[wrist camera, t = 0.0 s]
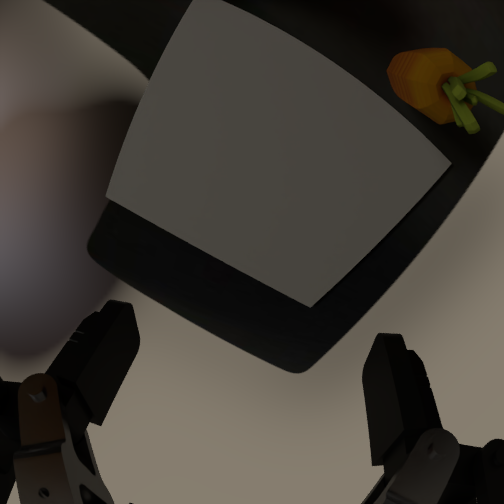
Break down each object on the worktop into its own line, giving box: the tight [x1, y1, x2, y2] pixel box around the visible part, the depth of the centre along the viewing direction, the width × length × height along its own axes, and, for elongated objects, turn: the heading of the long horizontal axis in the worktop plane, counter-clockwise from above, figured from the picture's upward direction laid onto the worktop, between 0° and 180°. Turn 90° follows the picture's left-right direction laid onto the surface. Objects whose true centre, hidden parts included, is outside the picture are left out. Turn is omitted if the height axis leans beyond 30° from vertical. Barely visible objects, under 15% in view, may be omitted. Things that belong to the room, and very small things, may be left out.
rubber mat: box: [106, 0, 452, 307], centre depth 29 cm, size 24×28×1 cm
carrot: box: [387, 48, 504, 134], centre depth 16 cm, size 5×5×15 cm
